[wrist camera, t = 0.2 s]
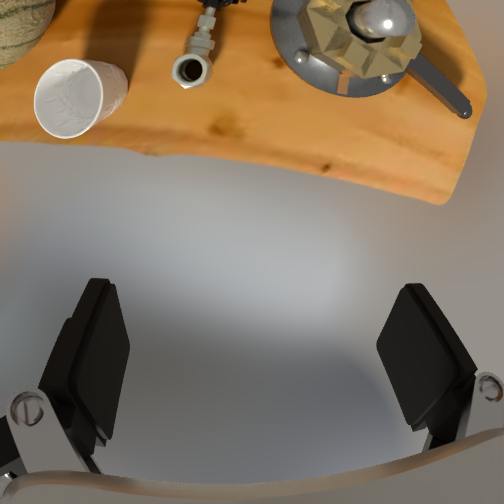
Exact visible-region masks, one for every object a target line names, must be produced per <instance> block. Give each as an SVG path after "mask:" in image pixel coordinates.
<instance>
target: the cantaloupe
mask: <svg viewBox="0 0 504 504" xmlns="http://www.w3.org/2000/svg"><path fill="white" fill-rule="evenodd" d="M55 4H56V0H0V70H2V69H4V68H6V67H8V66H9V65H11V64H13V63H15V62H16V61H17V60H18V59H20V58H22V57H23V56H24V55H26V54H27V53H29V52H30V51H31V49H32V48H33V47H34V46H35V45H36V44H37V43H38V42H39V40H40V39H41V37H42V36H43V35H44V33H45V30H46V29H47V27H48V26H49V24H50V22H51V19H52V17H53V14H54V11H55Z"/></svg>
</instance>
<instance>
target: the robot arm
mask: <svg viewBox="0 0 504 504" xmlns="http://www.w3.org/2000/svg"><path fill="white" fill-rule="evenodd" d="M376 346H377V351H378V353H379V356H380V358H381V360H382V363H383V365H384V367H385V370H386V372H387V374H388V377H389V379H390V382H391V384H392V387H393V389H394V392H395V394H396V397H397V399H398V402H399V404H400V407H401V409H402V412H403V415H404V417H405V420H406V422H407V424H408V425H411V428H412V430H413V432H414V431H418V430H421V429H425V428H426V427H428V430H429V433H428V436H427V439H426V442H425V444H424V447H423V450H422V453H419V454H416V455H413V456H410V457H407V458H403V459H399V460H395V461H392V462H388V463H384V464H380V465H376V466H372V467H368V468H363V469H359V470H354V471H349V472H344V473H338V474H333V475H327V476H321V477H314V478H306V479H298V480H289V481H279V482H266V483H247V484H194V483H177V482H163V481H151V480H141V479H133V478H126V477H119V476H111V475H104V473H103V472H102V470H101V469H100V467H99V466H98V464H97V462H96V461H95V459H94V458H93V456H92V454H94V448H95V445H96V446H102V447H105V446H106V440H107V439H108V440H110V439H111V438H112V435H113V429H114V423H115V418H116V412H117V407H118V402H119V397H120V392H121V387H122V383H123V377H124V373H125V369H126V365H127V360H128V356H129V351H130V344H129V339H128V335H127V332H126V328H125V324H124V320H123V316H122V312H121V308H120V303H119V299H118V295H117V291H116V286H115V284H111V283H110V281H109V279H101V278H91V279H90V280H89V282H88V284H87V286H86V288H85V290H84V292H83V294H82V296H81V298H80V300H79V302H78V304H77V307H76V309H75V311H74V313H73V315H72V317H71V318H68V319H66V321H65V323H64V325H63V327H62V329H61V331H60V334H59V336H58V338H57V341H56V343H55V345H54V348H53V350H52V352H51V355H50V357H49V360H48V362H47V365H46V368H45V370H44V372H43V375H42V378H41V380H40V383H39V386H38V388H35V387H25V388H21V389H19V390H17V391H16V392H14V393H13V395H12V396H11V397H10V398H9V400H8V403H7V405H6V415H5V416H4V417H2V418H0V504H504V384H503V382H502V381H501V380H500V379H499V378H498V377H497V376H496V375H494V374H493V373H489V372H483V373H480V374H479V375H478V376H477V377H476V376H475V375H474V373H475V372H476V371H477V370H478V369H477V367H476V365H475V364H474V362H473V360H472V358H471V357H470V355H469V353H468V352H467V350H466V348H465V347H464V345H463V344H462V342H461V340H460V339H459V337H458V335H457V334H456V332H455V331H454V329H453V328H452V326H451V324H450V323H449V321H448V320H447V318H446V317H445V315H444V314H443V312H442V311H441V309H440V308H439V307H438V305H437V304H436V302H435V301H434V299H433V298H432V296H431V295H430V294H429V292H428V291H427V289H426V288H425V286H424V285H423V284H421V283H410V284H406V285H405V286H404V288H402V289H401V290H400V292H399V294H398V297H397V299H396V301H395V303H394V306H393V308H392V310H391V312H390V314H389V317H388V319H387V321H386V323H385V326H384V327H383V329H382V332H381V334H380V336H379V338H378V340H377V345H376Z"/></svg>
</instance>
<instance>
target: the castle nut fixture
mask: <svg viewBox="0 0 504 504" xmlns="http://www.w3.org/2000/svg"><path fill="white" fill-rule="evenodd" d="M372 1H375V0H305V1H304V2H303V4H302V6H301V7H300V9H299V11H298V12H297V14H296V15H297V16H296V18H297V20H298V23H299V26H300V28H301V31H302V34H303V37H304V40H305V42H306V45H307V48H308V51H309V54H311V56H313V57H315V58H316V59H318V60H320V61H322V62H323V63H325V64H327V65H329V66H330V67H332V68H334V69H335V70H337V71H339V72H340V73H342V74H344V75H345V76H348V77H355V78H362V79H366V78H371V77H376V76H381V75H387V74H393V73H399V72H403V71H406V72H407V73H408V74H409V75H411V76H412V77H413V78H414V79H415V80H417V81H418V82H419V83H420V84H421V85H423V86H424V87H425V88H426V89H427V90H428V91H430V92H431V93H432V94H433V95H434V96H435V97H436V98H437V99H438V100H440V101H441V102H442V103H443V104H444V105H445V106H446V107H447V108H448V109H449V110H450V111H451V112H453V113H456V114H457V116H458V117H460V118H462V119H468V118H469V117H470V116H471V115H472V106H471V105H470V101H469V100H468V99H467V98H466V97H465V96H464V94H463V93H462V92H461V91H460V90H459V89H458V88H457V87H456V86H455V85H454V84H453V83H452V82H451V81H450V80H449V79H448V78H446V77H445V76H444V75H443V74H442V73H441V72H440V71H439V70H438V69H437V68H436V67H435V66H434V65H432V64H431V63H430V62H429V61H428V60H427V59H426V58H425V57H423V56H422V55H421V54H420V53H419V51H420V49H421V47H422V44H421V43H420V41H421V38H422V36H421V33H420V29H419V26H418V22H417V19H416V23H415V27H414V29H413V31H412V32H411V33H409V34H408V35H404V36H392V37H381V38H372V39H367V41H366V43H365V42H364V41H362V40H361V39H359V38H357V37H356V36H354V35H353V34H351V32H350V29H349V26H348V23H347V20H346V17H345V15H346V13H347V11H348V9H349V8H350V7H352V6H353V7H358V6H361V5H363V4H366V3H369V2H372ZM404 1H406V2H407V3H408V4H409V5H410V6H411V8H412V10H413V12H414V9H413V6H412V3H411V0H404ZM414 14H415V12H414ZM415 18H416V15H415Z"/></svg>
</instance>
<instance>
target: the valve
mask: <svg viewBox="0 0 504 504" xmlns="http://www.w3.org/2000/svg"><path fill="white" fill-rule="evenodd" d="M197 1H199V2H201V3H203V5H202V7H203V8H205V9H206V11H205V14H204V15H200V18H199V21H198V24H197V27H199V31H198V32H195V34H194V36H188V38H187V41H186V45H187V46H188V49H187V52H186V53H185V54H183V55H182V56H180V57H178V58H175V62H174V65H173V69H172V74H171V77H172V78H173V79H174V80H176V81H177V83H178V84H180V85H181V86H183V87H184V88H190V89H194V88H199V87H201V86H203V85H205V84H206V83H207V82H208V81H209V80H210V78H211V76H212V73H213V65H212V62H211V60H210V59H209V57H208V55H209V51H210V50H213V49H214V45H215V41H213V40H210V38H211V34H209V32H210V29H211V30H213V28H214V25H215V21H216V18H215V17H213V16H214V13H215V11H220V10H221V7H225V6H228V5H230V4H238V3H239V0H226V1H224V0H197ZM240 2H242V3H246V2H247V0H241V1H240ZM193 60H198V61H199V62H200V63H201V65H202V68H203V71H202V74H201V76H200V78H199V79H197V80H192V79H189V78H188V77H187V76H186V74H185V67H186V65H187V64H188V63H189V62H191V61H193Z"/></svg>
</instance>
